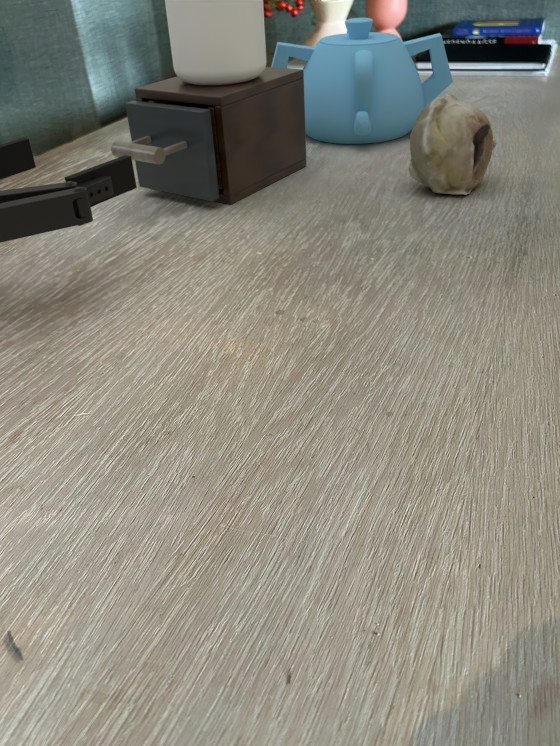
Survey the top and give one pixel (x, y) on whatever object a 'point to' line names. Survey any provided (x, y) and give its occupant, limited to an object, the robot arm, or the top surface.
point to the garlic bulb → (450, 146)
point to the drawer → (174, 147)
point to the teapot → (365, 83)
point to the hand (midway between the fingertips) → (78, 161)
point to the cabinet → (249, 126)
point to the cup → (217, 40)
